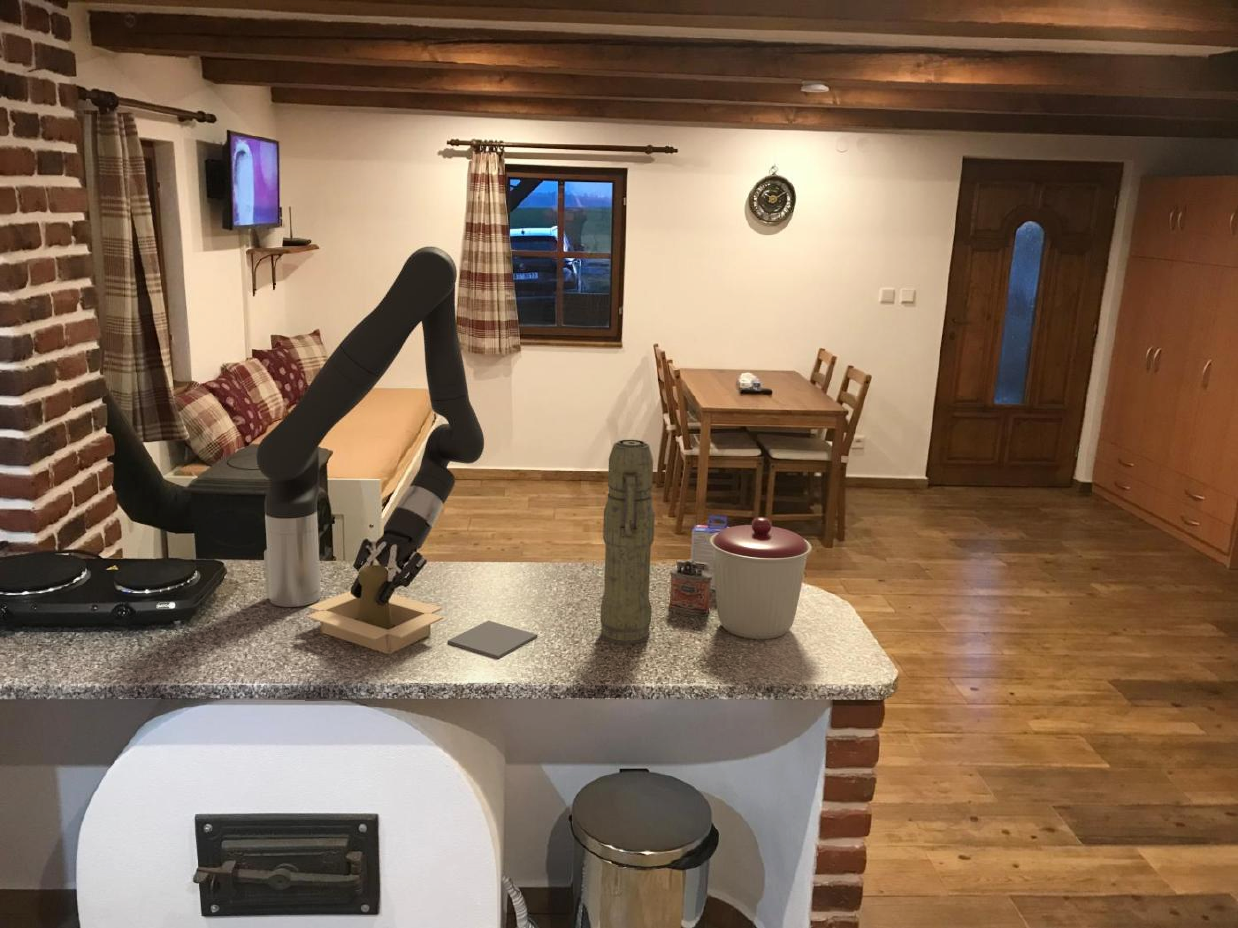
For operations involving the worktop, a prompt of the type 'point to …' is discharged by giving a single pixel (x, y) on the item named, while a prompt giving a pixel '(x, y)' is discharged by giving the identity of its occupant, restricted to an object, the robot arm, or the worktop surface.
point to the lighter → (690, 588)
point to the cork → (373, 597)
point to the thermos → (628, 544)
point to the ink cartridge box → (706, 544)
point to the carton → (342, 624)
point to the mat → (492, 639)
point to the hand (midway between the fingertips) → (366, 599)
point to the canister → (758, 578)
